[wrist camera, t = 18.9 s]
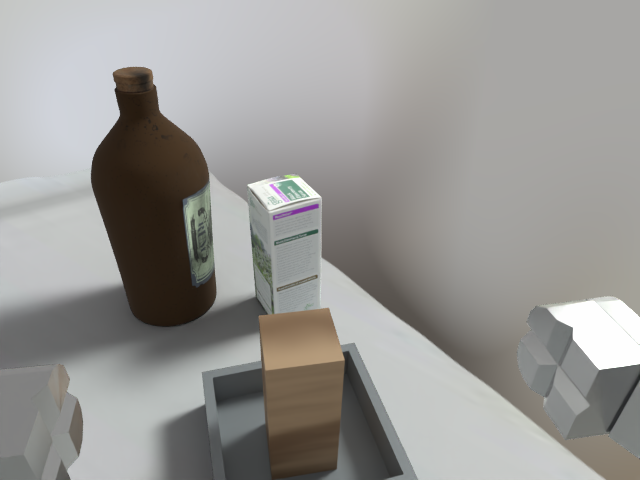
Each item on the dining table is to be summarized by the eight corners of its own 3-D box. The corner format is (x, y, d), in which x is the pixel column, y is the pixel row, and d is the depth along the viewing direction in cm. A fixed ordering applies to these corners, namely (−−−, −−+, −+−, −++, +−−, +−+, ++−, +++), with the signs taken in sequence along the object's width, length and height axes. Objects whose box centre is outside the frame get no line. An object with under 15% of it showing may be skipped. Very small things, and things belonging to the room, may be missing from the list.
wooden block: (336, 469, 38) (344, 360, 31) (271, 480, 37) (265, 370, 30) (324, 414, 42) (328, 307, 35) (265, 423, 41) (258, 315, 34)
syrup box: (322, 311, 54) (326, 195, 46) (273, 328, 52) (268, 209, 44) (299, 282, 58) (299, 170, 50) (252, 297, 56) (244, 182, 48)
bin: (206, 403, 44) (201, 372, 41) (351, 372, 47) (354, 342, 45) (225, 566, 33) (219, 536, 31) (411, 512, 36) (419, 482, 34)
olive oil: (108, 329, 51) (37, 87, 37) (143, 267, 60) (96, 54, 46) (210, 334, 51) (176, 92, 37) (230, 271, 60) (209, 58, 46)
